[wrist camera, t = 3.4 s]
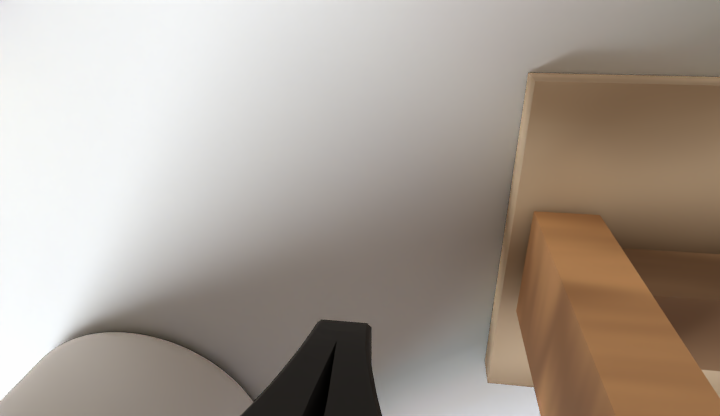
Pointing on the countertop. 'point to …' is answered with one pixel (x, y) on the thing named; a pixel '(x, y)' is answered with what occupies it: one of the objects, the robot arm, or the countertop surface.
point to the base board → (609, 178)
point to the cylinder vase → (124, 381)
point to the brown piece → (617, 323)
